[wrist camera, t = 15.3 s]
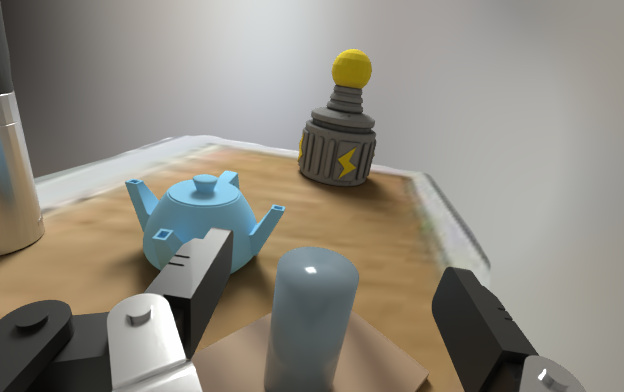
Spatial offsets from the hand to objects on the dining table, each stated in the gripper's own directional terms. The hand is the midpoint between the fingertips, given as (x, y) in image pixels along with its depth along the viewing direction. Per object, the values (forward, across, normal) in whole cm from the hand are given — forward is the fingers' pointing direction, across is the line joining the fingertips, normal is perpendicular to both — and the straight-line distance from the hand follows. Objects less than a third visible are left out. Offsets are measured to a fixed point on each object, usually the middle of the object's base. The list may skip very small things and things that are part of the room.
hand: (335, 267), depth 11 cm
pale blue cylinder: (+7, 0, +17) cm, 18 cm away
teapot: (+23, +14, +18) cm, 33 cm away
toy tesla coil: (+65, -4, +19) cm, 68 cm away
